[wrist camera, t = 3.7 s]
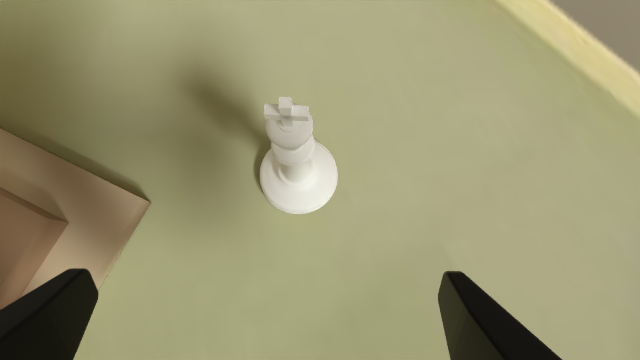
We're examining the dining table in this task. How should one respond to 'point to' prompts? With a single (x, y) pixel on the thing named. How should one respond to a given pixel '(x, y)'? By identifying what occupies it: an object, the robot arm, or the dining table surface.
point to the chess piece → (295, 161)
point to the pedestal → (57, 218)
